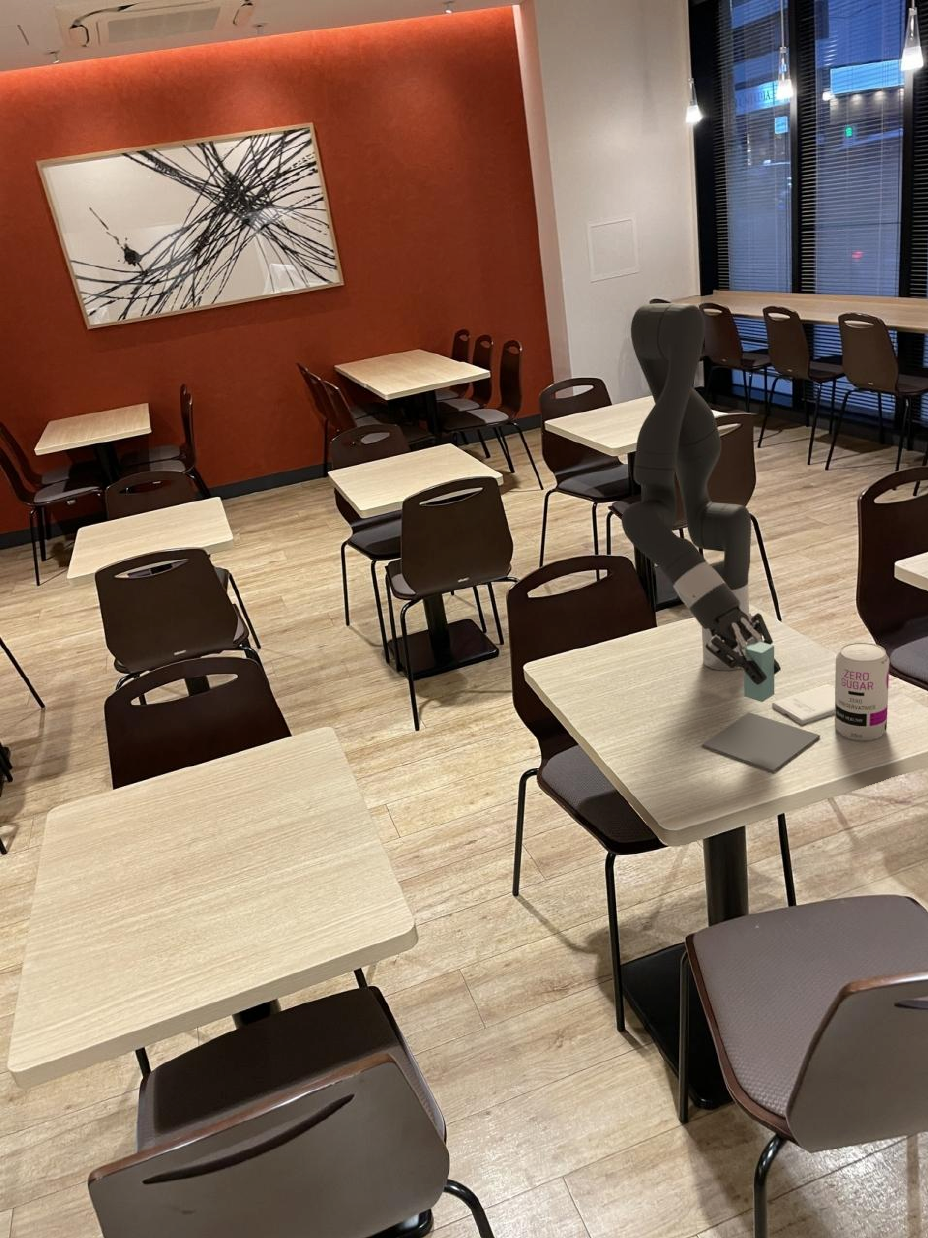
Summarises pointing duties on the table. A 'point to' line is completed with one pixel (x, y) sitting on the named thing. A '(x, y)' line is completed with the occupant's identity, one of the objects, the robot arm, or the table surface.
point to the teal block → (765, 661)
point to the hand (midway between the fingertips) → (769, 676)
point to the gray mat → (761, 742)
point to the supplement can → (861, 691)
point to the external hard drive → (808, 704)
